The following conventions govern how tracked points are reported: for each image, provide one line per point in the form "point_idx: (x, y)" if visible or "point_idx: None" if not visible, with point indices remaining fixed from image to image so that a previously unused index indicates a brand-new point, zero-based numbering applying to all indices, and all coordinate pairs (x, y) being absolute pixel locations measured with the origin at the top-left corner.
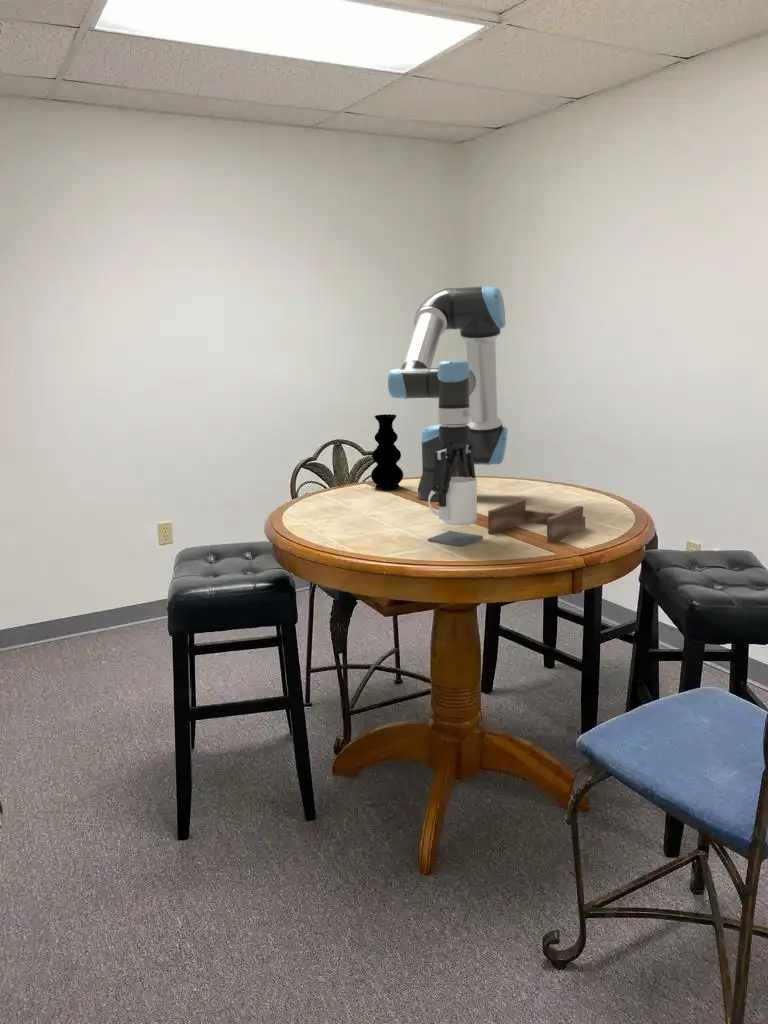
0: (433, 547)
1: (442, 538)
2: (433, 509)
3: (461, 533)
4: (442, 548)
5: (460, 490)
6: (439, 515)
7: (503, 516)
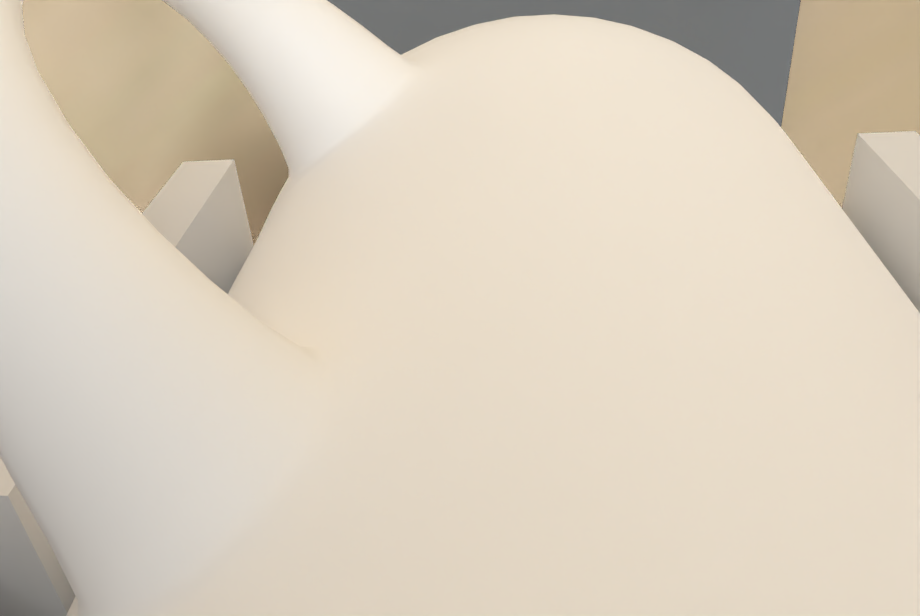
0: (108, 90)
1: (388, 4)
2: (178, 11)
3: (745, 51)
4: (154, 190)
5: None
6: (163, 194)
7: None
